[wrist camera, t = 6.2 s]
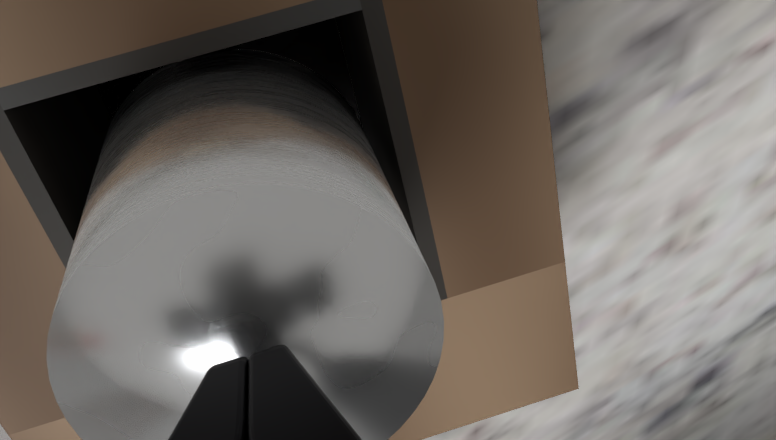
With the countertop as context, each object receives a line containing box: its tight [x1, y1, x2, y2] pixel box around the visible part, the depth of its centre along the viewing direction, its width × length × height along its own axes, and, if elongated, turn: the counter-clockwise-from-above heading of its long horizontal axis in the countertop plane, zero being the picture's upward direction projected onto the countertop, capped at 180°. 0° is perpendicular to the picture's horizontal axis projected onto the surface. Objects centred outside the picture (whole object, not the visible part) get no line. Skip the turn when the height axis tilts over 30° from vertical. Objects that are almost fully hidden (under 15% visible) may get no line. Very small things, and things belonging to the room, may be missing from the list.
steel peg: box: [46, 48, 444, 440], centre depth 10 cm, size 4×4×5 cm
